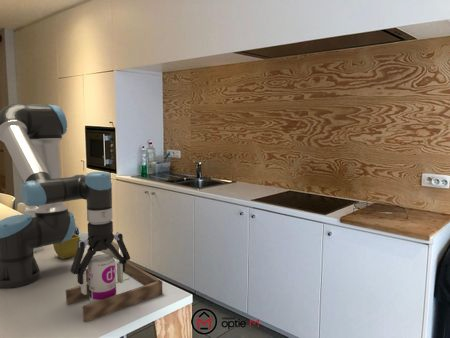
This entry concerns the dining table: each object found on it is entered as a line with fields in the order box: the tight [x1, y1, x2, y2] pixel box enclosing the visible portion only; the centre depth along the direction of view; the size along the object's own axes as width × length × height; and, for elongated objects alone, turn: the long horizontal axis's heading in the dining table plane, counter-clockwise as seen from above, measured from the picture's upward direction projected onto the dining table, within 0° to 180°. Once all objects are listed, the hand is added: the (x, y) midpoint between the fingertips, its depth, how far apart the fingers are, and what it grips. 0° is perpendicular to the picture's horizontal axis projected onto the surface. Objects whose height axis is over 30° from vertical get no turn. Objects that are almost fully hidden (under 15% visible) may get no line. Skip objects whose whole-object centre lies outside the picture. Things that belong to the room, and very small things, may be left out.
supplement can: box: [87, 253, 117, 304], centre depth 118 cm, size 8×8×15 cm
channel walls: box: [65, 260, 163, 323], centre depth 126 cm, size 27×28×4 cm
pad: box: [116, 270, 130, 284], centre depth 137 cm, size 10×9×1 cm
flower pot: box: [52, 233, 81, 260], centre depth 159 cm, size 9×9×9 cm
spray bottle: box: [23, 206, 44, 253], centre depth 165 cm, size 7×7×25 cm
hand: (102, 287), depth 118 cm, fingers open, 11 cm apart
